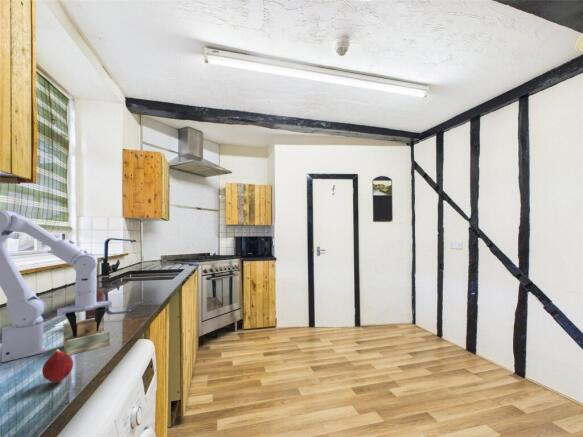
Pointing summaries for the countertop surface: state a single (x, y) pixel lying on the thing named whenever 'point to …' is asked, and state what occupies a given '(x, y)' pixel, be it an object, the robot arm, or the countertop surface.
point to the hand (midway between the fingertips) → (85, 333)
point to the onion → (57, 367)
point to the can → (99, 298)
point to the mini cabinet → (86, 328)
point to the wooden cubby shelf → (84, 339)
